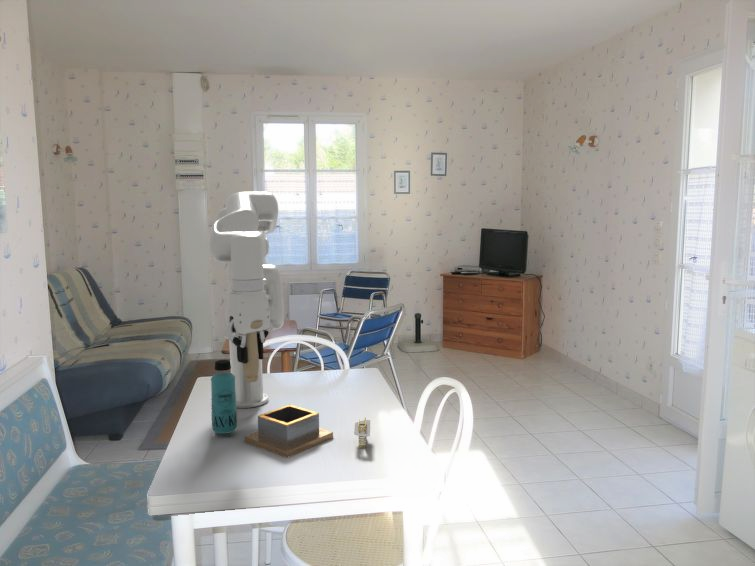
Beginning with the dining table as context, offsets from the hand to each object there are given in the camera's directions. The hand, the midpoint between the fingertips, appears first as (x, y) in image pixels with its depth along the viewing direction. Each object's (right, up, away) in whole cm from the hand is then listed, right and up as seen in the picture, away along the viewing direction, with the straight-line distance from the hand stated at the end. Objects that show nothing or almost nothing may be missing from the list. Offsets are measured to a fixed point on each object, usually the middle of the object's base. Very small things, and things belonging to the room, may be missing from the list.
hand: (250, 359), depth 147 cm
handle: (0, -5, +1) cm, 5 cm away
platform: (+27, -23, +5) cm, 36 cm away
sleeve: (+8, -22, +9) cm, 25 cm away
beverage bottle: (-9, -22, +13) cm, 27 cm away
